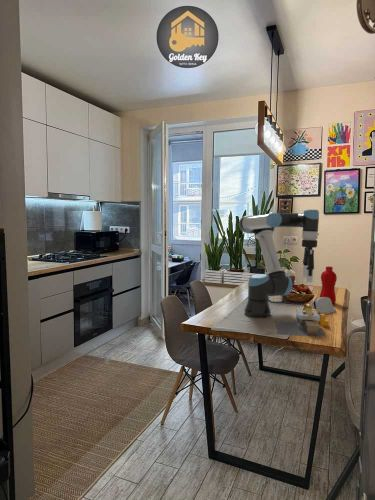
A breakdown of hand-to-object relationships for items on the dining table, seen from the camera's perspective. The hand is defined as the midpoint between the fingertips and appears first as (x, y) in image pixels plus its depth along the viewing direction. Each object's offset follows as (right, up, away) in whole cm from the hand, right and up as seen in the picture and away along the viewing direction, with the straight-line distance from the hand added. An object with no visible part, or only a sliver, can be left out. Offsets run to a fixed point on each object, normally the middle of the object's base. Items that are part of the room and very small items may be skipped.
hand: (307, 279), depth 181 cm
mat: (-6, -25, -4) cm, 26 cm away
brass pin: (0, -24, -2) cm, 25 cm away
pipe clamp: (+9, -25, +7) cm, 27 cm away
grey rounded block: (+21, -23, +31) cm, 44 cm away
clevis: (-1, -25, -5) cm, 25 cm away
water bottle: (+33, -21, +56) cm, 68 cm away
